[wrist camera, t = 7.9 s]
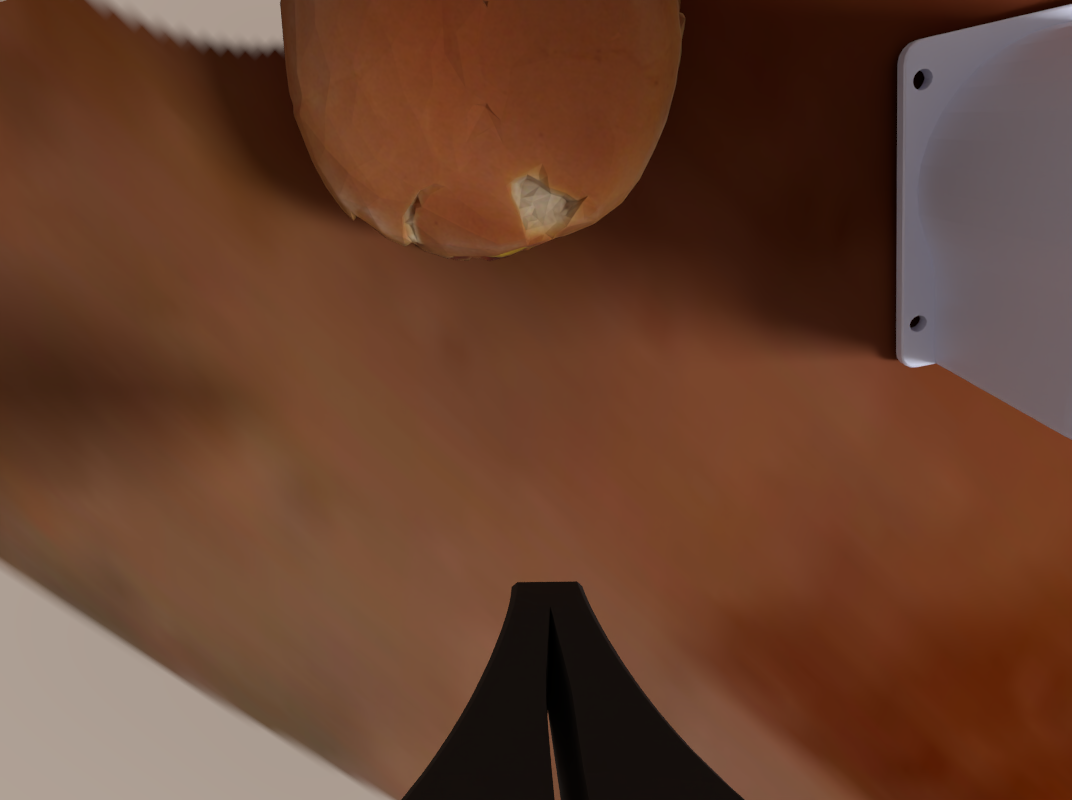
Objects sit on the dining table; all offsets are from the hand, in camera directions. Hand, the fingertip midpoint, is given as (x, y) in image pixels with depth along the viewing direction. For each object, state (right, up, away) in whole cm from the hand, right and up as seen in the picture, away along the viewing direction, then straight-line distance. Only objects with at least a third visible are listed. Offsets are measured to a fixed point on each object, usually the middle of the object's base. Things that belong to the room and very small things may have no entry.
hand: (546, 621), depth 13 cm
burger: (-1, +14, +5) cm, 15 cm away
